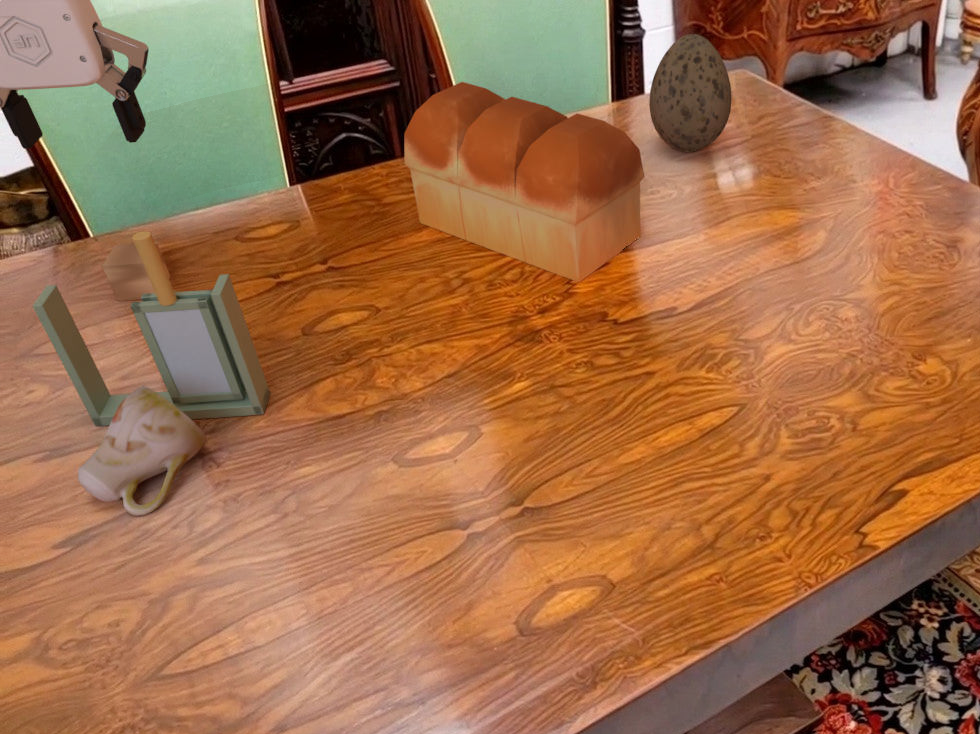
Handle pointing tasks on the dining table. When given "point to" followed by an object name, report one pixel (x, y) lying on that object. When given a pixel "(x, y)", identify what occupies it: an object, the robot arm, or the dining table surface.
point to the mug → (141, 450)
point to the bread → (524, 179)
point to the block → (128, 272)
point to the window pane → (183, 337)
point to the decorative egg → (690, 94)
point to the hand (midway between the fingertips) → (85, 139)
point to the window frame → (105, 405)
